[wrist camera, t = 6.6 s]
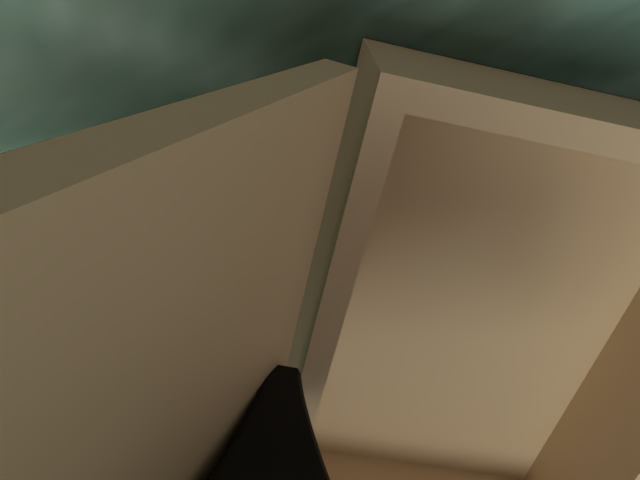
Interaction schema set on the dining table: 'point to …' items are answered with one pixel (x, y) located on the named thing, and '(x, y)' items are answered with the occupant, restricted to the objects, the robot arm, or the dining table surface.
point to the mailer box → (476, 279)
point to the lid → (159, 275)
